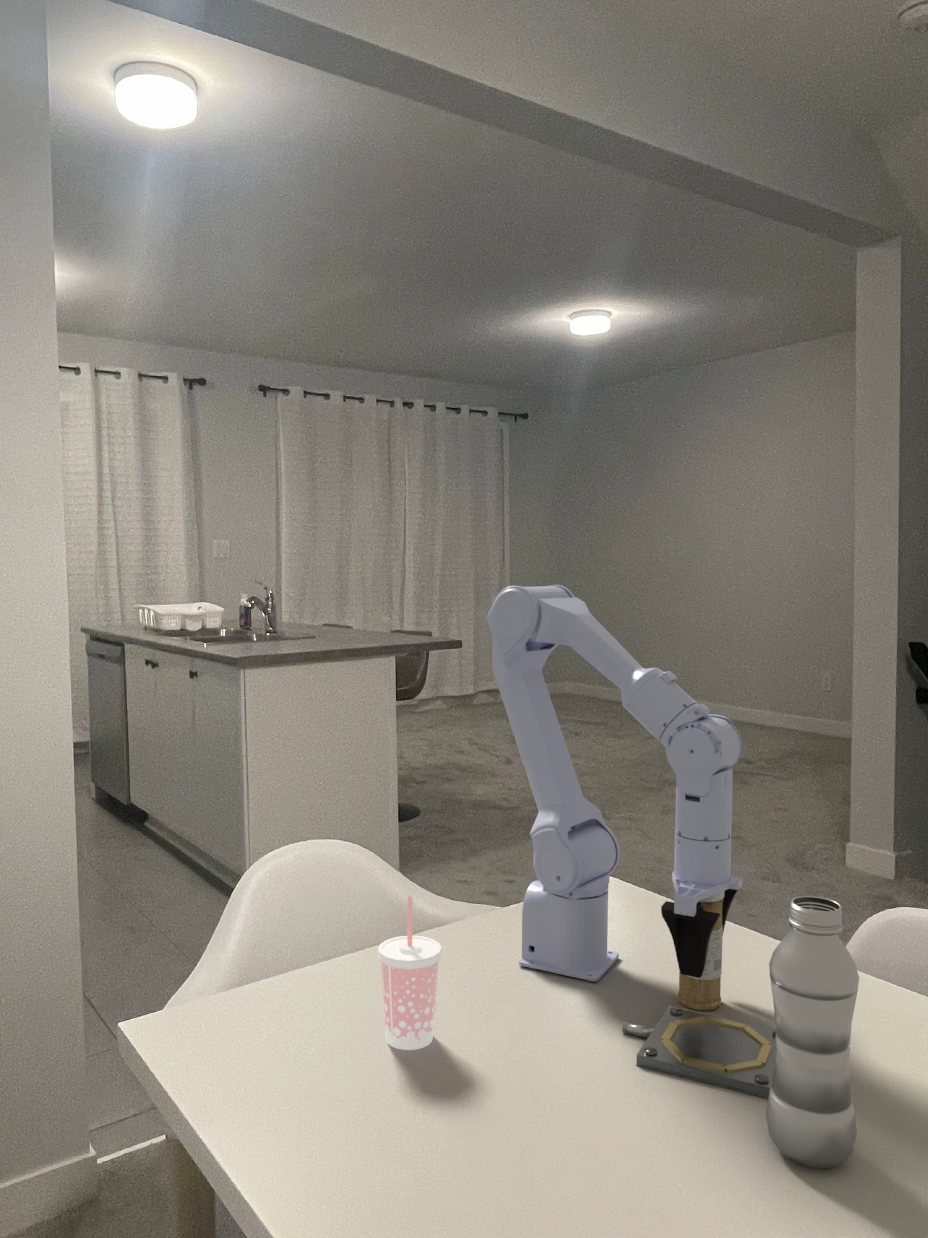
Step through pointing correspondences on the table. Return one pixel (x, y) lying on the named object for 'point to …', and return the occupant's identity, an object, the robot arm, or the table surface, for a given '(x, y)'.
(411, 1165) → the table surface
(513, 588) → the robot arm
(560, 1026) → the table surface
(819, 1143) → the plastic bottle
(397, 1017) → the beverage cup
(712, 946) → the sprinkles bottle
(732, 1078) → the octagon fixture plate
